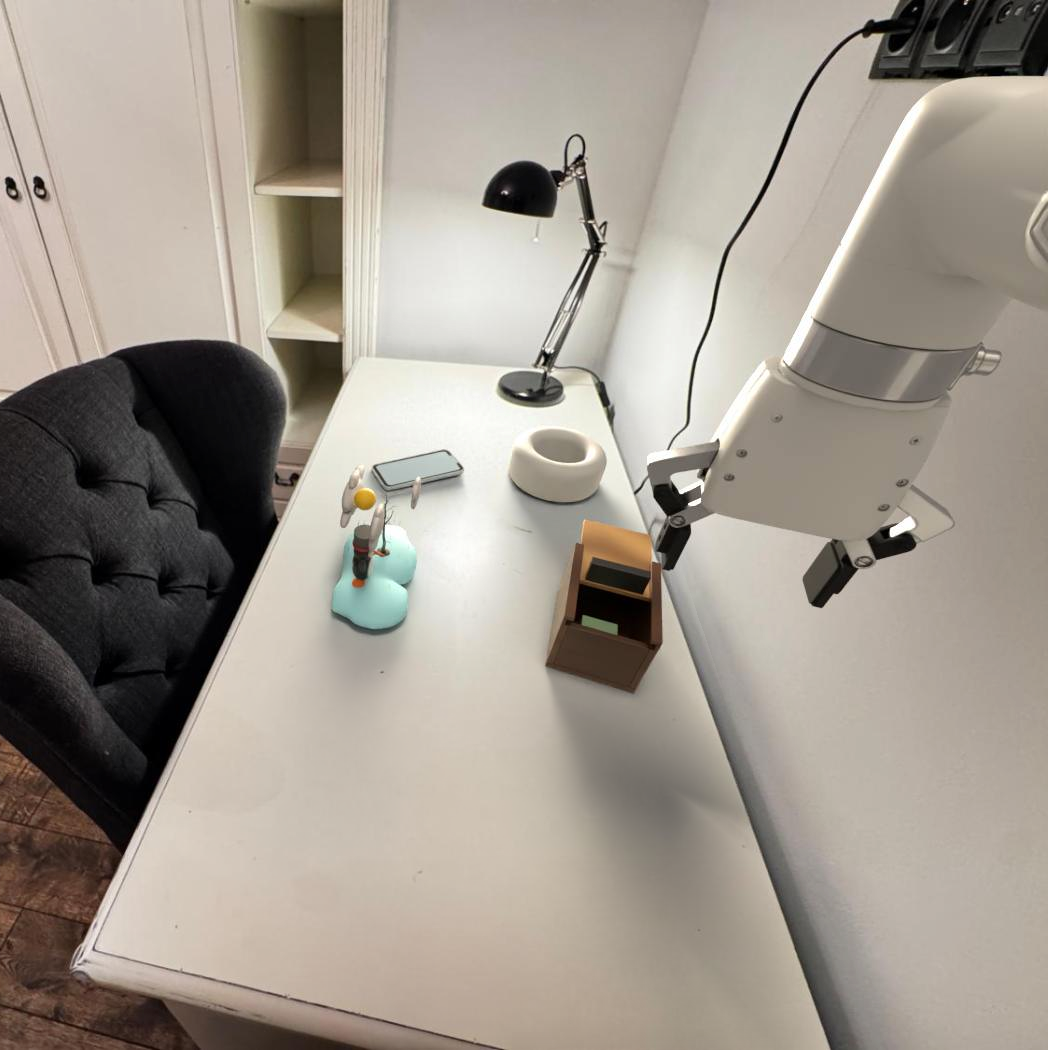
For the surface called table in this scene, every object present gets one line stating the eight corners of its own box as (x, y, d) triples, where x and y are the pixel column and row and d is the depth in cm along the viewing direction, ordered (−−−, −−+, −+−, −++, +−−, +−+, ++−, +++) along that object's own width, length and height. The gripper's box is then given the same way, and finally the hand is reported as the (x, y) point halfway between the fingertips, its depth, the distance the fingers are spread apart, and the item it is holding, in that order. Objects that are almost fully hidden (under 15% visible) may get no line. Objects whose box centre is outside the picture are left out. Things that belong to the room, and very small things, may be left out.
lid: (650, 602, 66) (660, 581, 64) (574, 582, 68) (582, 561, 66) (650, 538, 74) (659, 518, 72) (583, 522, 77) (590, 502, 74)
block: (607, 645, 70) (617, 624, 67) (606, 670, 67) (616, 649, 64) (574, 635, 71) (582, 614, 68) (570, 660, 68) (579, 639, 65)
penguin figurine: (402, 641, 71) (411, 552, 61) (319, 625, 73) (316, 537, 63) (421, 537, 86) (432, 453, 76) (353, 527, 88) (354, 443, 78)
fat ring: (513, 448, 105) (520, 416, 101) (598, 464, 101) (609, 431, 97) (501, 494, 94) (509, 461, 90) (596, 514, 90) (609, 480, 86)
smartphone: (369, 465, 99) (447, 448, 103) (369, 469, 100) (446, 452, 103) (385, 488, 94) (466, 470, 98) (385, 493, 95) (465, 474, 98)
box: (633, 693, 66) (662, 643, 60) (544, 665, 68) (564, 615, 62) (635, 613, 75) (661, 563, 69) (557, 592, 78) (575, 542, 72)
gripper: (1034, 356, 32) (860, 574, 43) (694, 315, 37) (615, 519, 48) (1111, 416, 27) (889, 648, 37) (701, 358, 32) (611, 577, 43)
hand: (736, 575), depth 43 cm, fingers open, 9 cm apart
